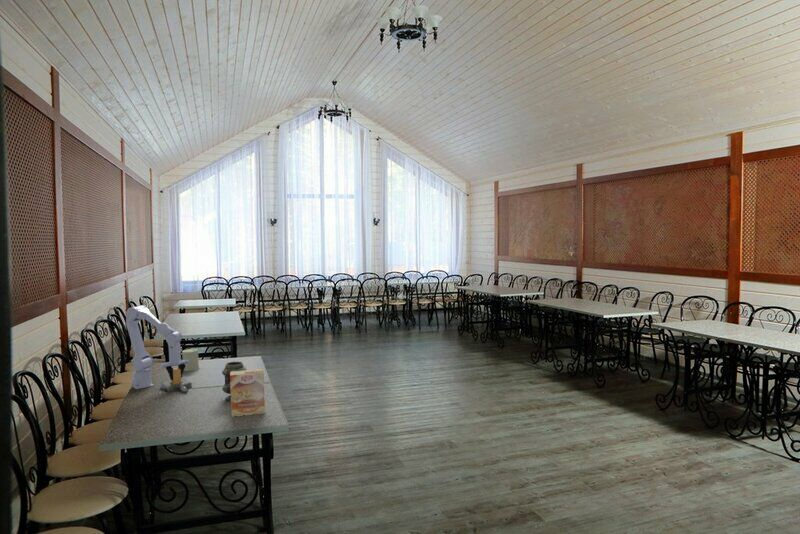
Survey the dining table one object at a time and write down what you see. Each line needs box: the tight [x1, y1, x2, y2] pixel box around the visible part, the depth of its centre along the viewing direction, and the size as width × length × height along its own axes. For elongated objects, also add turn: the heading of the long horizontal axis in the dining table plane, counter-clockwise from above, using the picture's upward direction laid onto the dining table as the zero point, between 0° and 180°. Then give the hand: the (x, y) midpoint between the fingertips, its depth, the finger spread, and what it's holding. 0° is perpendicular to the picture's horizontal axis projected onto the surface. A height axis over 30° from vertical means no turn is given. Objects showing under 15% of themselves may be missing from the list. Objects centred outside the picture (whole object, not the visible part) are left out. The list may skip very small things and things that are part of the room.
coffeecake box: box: [230, 368, 266, 418], centre depth 255 cm, size 15×7×20 cm, turn 106°
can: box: [181, 348, 200, 372], centre depth 336 cm, size 9×9×12 cm
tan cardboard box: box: [170, 367, 182, 385], centre depth 299 cm, size 4×4×8 cm
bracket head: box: [160, 378, 193, 394], centre depth 296 cm, size 12×20×2 cm, turn 41°
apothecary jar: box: [221, 360, 248, 402], centre depth 277 cm, size 12×12×18 cm
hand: (176, 378), depth 299 cm, fingers closed on tan cardboard box, 4 cm apart
